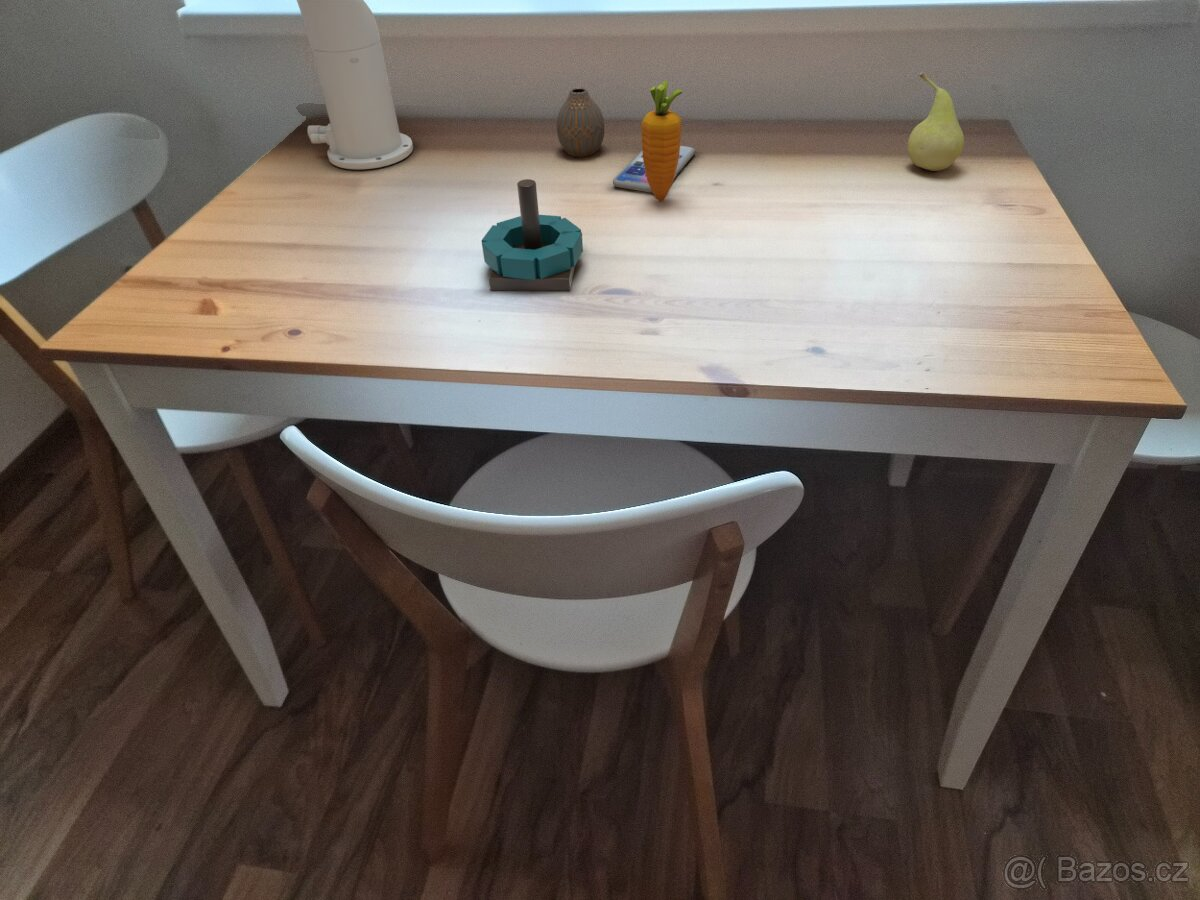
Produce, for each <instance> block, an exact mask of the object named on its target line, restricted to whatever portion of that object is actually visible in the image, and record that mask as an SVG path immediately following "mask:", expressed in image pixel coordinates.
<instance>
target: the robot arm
mask: <svg viewBox="0 0 1200 900" xmlns="http://www.w3.org/2000/svg"><path fill="white" fill-rule="evenodd" d="M296 3H297V6H298V8H299V11H300V14H301V18H302V21H303V25H304V28H305V32H306V35H307V39H308V43H309V48H310V50H311V55H312V57H313V62H314V66H315V70H316V73H317V77H318V81H319V84H320V89H321V93H322V96H323V100H324V104H325V107H326V112H327V116H328V120H329V123H328V124H327V125H318V124H317V125H316V124H315V125H308V126H307V129H306V130H307V136H308V138H309V140H310V142H311V144H326V145H327V146H329V147H328V149H327V151H326V155H327V158H328V161H329V162H330V164H332V165H334V166H336V167H338V168H341V169H347V170H372V169H379V168H383V167H387V166H390V165H393V164H396V163H399V162H401V161H403V160H404V159H406V158H408V157H409V156H410V155H411V154H412V152H413V150H414V144H413V140H412V138H411V137H410V136H408V135H407V134H404V133H402V132H400V127H399V123H398V118H397V113H396V109H395V103H394V99H393V94H392V89H391V85H390V79H389V75H388V70H387V65H386V59H385V55H384V49H383V46H382V45H383V44H382V40H381V35H380V30H379V26H378V23H377V20H376V16H375V14H374V13H373V11H372V9H371V8H370V7H369V5H368V3H366V2H365V0H296Z"/></svg>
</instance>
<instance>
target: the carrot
mask: <svg viewBox="0 0 1200 900" xmlns="http://www.w3.org/2000/svg"><path fill="white" fill-rule="evenodd" d="M668 86H669V81H668V80H663V81H662V82H661V83H660V84H659V85H658V86H657V87H656V86H653V87H651V88H650V90H649V93H650V96H651V97H652V100H653V102H654V105H655V110H652V111H648V113H646V114H645V116H644V118H643V119H642V121H641V127H640V129H641V151H642V152H643V161H644V167H645V172H646V176H647V180H648V183H649V186H650V188H651V190H652V192H653V193H652V192H651V193H652V194H653V196H654V198H655V200H656V201H657V202H659V203H663V202H664V201H665V199H666V198H667V196H668V194H669V192H670V190H671V188H672V186H673V182H674V180H675V178H676V176H675V173H676V169H677V165H678V159H679V154H680V145H681V142H682V141H681V139H682V118H681V116H680V115H679V114H678V113H676V112H674V111H672V110H670V106H671V105H672V103H673V101H674V100H675V99H676V98H677V97H678V96H680V95H682V94H683V91H682V90H681V89H680V88H678V89H675V90H674V91H673V92H672V93H671V94H670V95H669V97H668V96H667V93H668Z"/></svg>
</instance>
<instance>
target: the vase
mask: <svg viewBox="0 0 1200 900" xmlns="http://www.w3.org/2000/svg"><path fill="white" fill-rule="evenodd" d="M556 133H557V138H558V142H559V144H560V146H561V147H562V149H563V150H564V151H565V152H566V153H567V154H568V155H569V156H572V157H575V158H576V157H577V158H585V157H590V156H592V155H594V154H595V153H597V151H598V150H599V149H600V148H601V146H602V144H603V141H604V137H605V120H604V116H603V113H602V110H601V108H600V107H599V106H598V104H597V103H596V102H595V100H594V99H593V98H592V97H591V95H590V94H589V91H588V89H587V88H585V87H574V88H571V89H570V90H569V93H568V96H567V97H566V99H565V101H564V102H563V104H562V106H561V107H560V109H559V111H558V115H557V119H556Z"/></svg>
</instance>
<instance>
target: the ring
mask: <svg viewBox="0 0 1200 900" xmlns="http://www.w3.org/2000/svg"><path fill="white" fill-rule="evenodd" d="M539 221H540V231H541V241H542V243H549V244H551V245H548V246H545V247H542V248H539V249H535V250H532V249H520V248H513V247H517V246H520V245H523V244H524V240H523V231H522V222H521V215H519V216H516V217H512V218H509V219H505V220H502V221H498V222H496V225H494V224H493V225H491V227H490V228H489V229H488V231H486V233H485V235H484V236H483V237H482V239H481V247H482V253H483V260H484V263H485V264H486V265H487V266H488V267H489V268H490V269H491V270H492V269H493V270H494V271H495V272H496V273H497V274H498V275H501V274H503V277H509V278H520V279H531V280H536V278H537V276H538V277H539V278H540V279H543V278H546V277H549V276H552V275H555V274H558V273H561V272H564V271H567V270H570V269H571V267H575V268H576V265H577V263H578V261H579V260H580V257H581V256H582V253H583V252H584V247H583V246H584V245H583V244H584V243H583V232H582V229H581V228H580V227H579V226H577V225H576V224H574V223H573V222H572V221H570V220H569V219H568V218H567V217H562V216H561V215H549V214H539Z"/></svg>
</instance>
